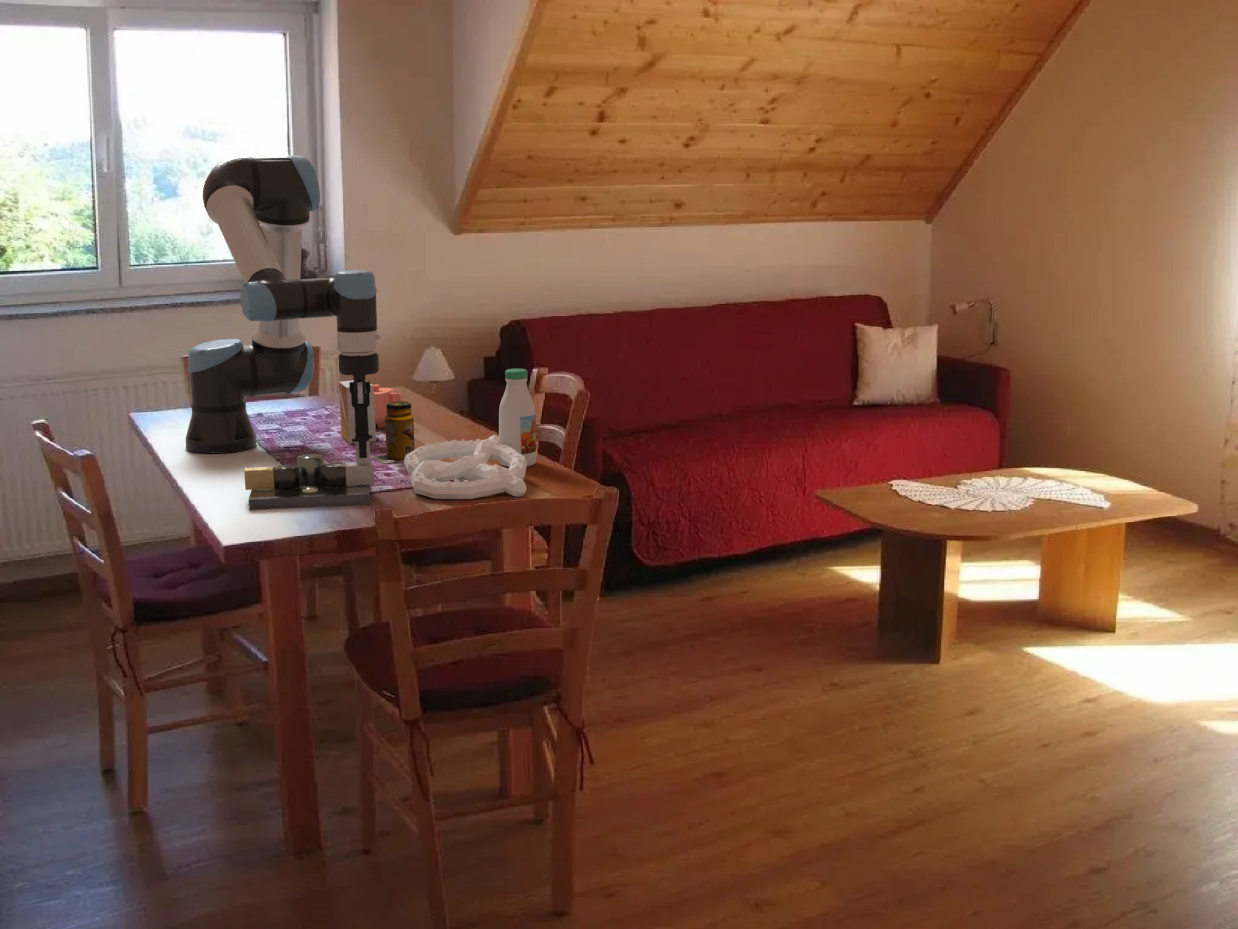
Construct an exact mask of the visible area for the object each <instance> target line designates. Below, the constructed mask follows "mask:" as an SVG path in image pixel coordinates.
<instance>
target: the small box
mask: <svg viewBox="0 0 1238 929" xmlns="http://www.w3.org/2000/svg"><path fill="white" fill-rule="evenodd" d="M353 381H354V380H344V381H343V380H342V381H338V386H339V387H338V389H339V410H340V432H341V435H340V436H341V437H342V438H343V439H344V440H345V441H346V442H347V443H348V444H350V445H353V444H352V443H354V444H355V442H352V438H355V434H356V433H355V410H354V407H352V402H351V393H350V388H349V382H353ZM365 381H367V380H366V379H365ZM373 385H374V384H372V383H371V382H370V393H369V398H370V405H369V406H368V407H367V411H368V429H369V433H368V434H369V435H372V438H369V441H370V443H374V442H377V436H376V434H377V433H376V432H377V431H376V424H375V409H374V389H373ZM366 393H367V392H366Z"/></svg>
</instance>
